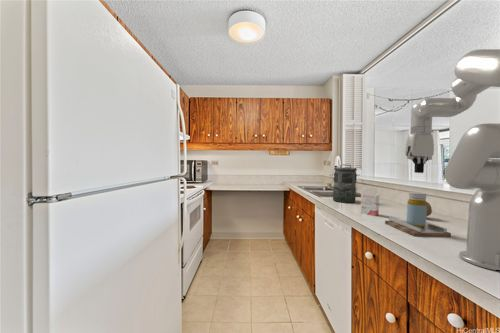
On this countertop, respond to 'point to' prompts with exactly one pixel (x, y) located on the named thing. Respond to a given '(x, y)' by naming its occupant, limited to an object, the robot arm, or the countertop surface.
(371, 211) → the ink cartridge box
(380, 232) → the countertop surface
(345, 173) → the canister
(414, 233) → the walnut board
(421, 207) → the bottle
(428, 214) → the natural sponge
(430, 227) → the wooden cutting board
